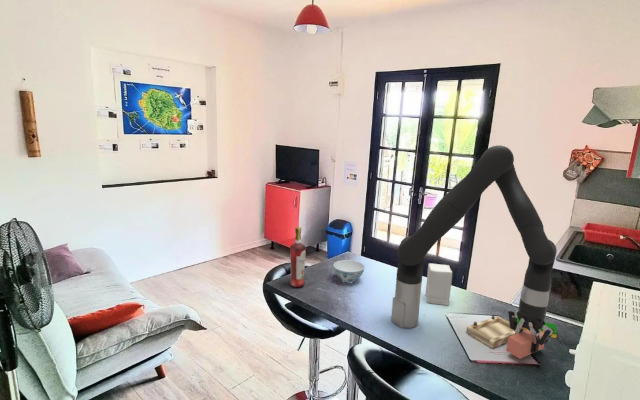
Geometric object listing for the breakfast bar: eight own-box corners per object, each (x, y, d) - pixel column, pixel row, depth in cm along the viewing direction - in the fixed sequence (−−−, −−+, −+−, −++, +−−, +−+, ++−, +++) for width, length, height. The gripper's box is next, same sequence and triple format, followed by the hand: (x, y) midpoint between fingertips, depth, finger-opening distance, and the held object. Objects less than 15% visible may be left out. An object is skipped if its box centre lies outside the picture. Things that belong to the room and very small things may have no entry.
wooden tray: (492, 348, 115) (493, 339, 114) (466, 332, 124) (467, 323, 123) (523, 336, 123) (524, 327, 122) (496, 321, 132) (498, 313, 131)
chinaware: (365, 287, 158) (366, 272, 157) (333, 286, 158) (333, 271, 157) (361, 274, 173) (362, 260, 172) (332, 273, 173) (333, 259, 172)
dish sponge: (556, 339, 122) (557, 333, 122) (512, 327, 129) (513, 321, 129) (555, 330, 128) (556, 324, 127) (513, 319, 135) (514, 313, 135)
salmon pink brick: (519, 358, 107) (522, 342, 106) (506, 350, 111) (508, 335, 110) (543, 348, 113) (546, 333, 112) (530, 341, 117) (532, 326, 116)
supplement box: (449, 306, 143) (453, 272, 140) (427, 303, 145) (430, 270, 142) (446, 296, 152) (449, 264, 149) (425, 294, 154) (428, 262, 151)
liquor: (296, 280, 164) (297, 224, 158) (308, 285, 159) (309, 227, 154) (286, 285, 158) (286, 227, 152) (298, 290, 153) (299, 230, 148)
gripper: (505, 292, 113) (498, 338, 116) (550, 313, 101) (540, 364, 104) (519, 288, 117) (512, 333, 120) (564, 308, 104) (554, 357, 107)
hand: (525, 347), depth 112 cm, fingers closed on salmon pink brick, 4 cm apart
